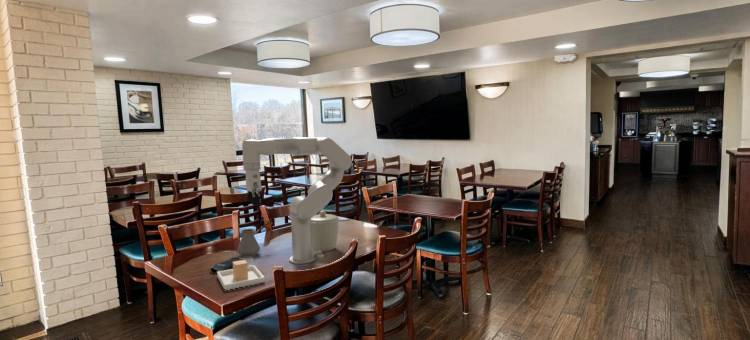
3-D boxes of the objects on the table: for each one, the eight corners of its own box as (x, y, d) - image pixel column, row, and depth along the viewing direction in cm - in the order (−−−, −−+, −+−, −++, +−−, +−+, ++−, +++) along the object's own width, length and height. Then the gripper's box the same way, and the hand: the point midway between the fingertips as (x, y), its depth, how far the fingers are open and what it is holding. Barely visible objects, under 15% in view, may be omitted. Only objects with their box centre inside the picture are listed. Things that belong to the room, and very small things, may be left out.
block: (245, 275, 177) (244, 259, 176) (248, 278, 173) (247, 263, 172) (233, 277, 174) (232, 261, 174) (235, 281, 170) (235, 265, 169)
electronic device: (229, 265, 197) (205, 271, 184) (231, 254, 197) (207, 259, 184) (244, 270, 194) (221, 276, 180) (246, 259, 194) (223, 264, 180)
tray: (254, 270, 185) (254, 265, 185) (265, 282, 170) (264, 277, 169) (217, 277, 177) (217, 271, 177) (225, 291, 162) (224, 285, 161)
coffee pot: (246, 259, 200) (244, 230, 199) (232, 255, 207) (231, 227, 206) (279, 249, 217) (278, 221, 216) (266, 245, 224) (265, 219, 223)
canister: (317, 256, 204) (316, 215, 202) (300, 248, 218) (299, 210, 216) (347, 249, 215) (346, 210, 213) (328, 242, 229) (327, 205, 227)
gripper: (265, 167, 179) (266, 205, 181) (255, 164, 194) (257, 200, 196) (248, 168, 175) (249, 207, 177) (239, 165, 190) (241, 201, 192)
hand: (253, 203), depth 186 cm, fingers open, 9 cm apart
